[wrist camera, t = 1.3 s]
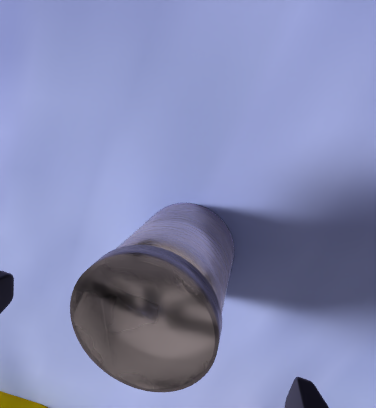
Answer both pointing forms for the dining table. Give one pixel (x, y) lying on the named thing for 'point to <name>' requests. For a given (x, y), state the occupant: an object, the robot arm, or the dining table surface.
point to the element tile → (17, 402)
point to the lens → (157, 300)
